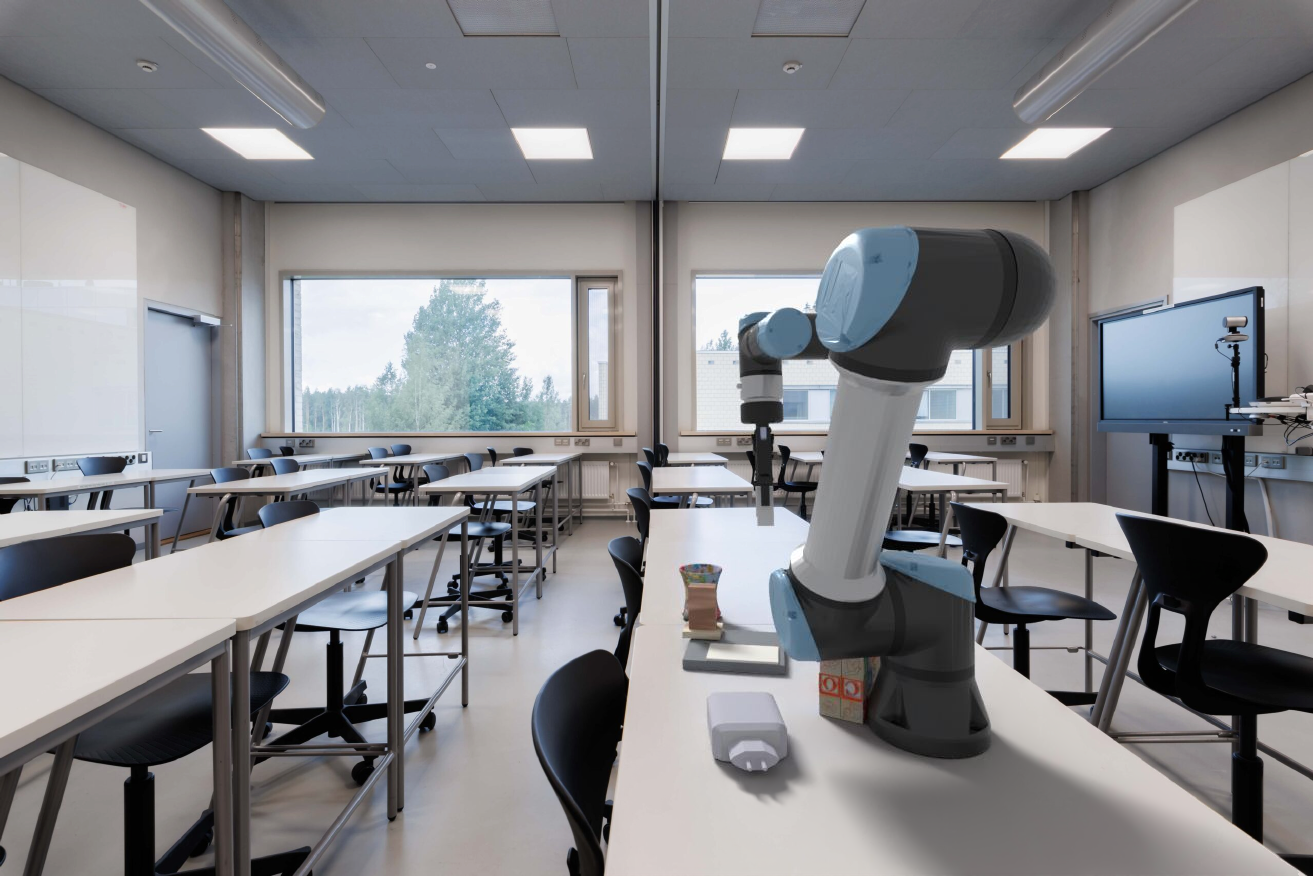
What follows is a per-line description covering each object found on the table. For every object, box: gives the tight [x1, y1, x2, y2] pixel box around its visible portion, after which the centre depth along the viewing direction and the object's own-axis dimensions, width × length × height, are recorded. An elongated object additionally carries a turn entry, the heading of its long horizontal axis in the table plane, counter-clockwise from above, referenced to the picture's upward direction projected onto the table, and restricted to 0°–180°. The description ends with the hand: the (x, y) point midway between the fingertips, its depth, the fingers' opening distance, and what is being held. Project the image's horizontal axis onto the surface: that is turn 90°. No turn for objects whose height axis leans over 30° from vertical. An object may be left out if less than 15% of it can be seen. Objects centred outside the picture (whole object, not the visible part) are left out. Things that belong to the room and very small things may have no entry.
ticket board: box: [681, 629, 786, 676], centre depth 109 cm, size 16×17×2 cm
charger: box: [706, 691, 788, 772], centre depth 76 cm, size 5×9×15 cm
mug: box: [678, 563, 723, 620], centre depth 132 cm, size 12×9×11 cm
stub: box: [681, 583, 724, 640], centre depth 115 cm, size 6×7×9 cm
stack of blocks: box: [818, 657, 880, 725], centre depth 93 cm, size 21×6×12 cm, turn 150°
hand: (764, 521), depth 108 cm, fingers open, 13 cm apart
